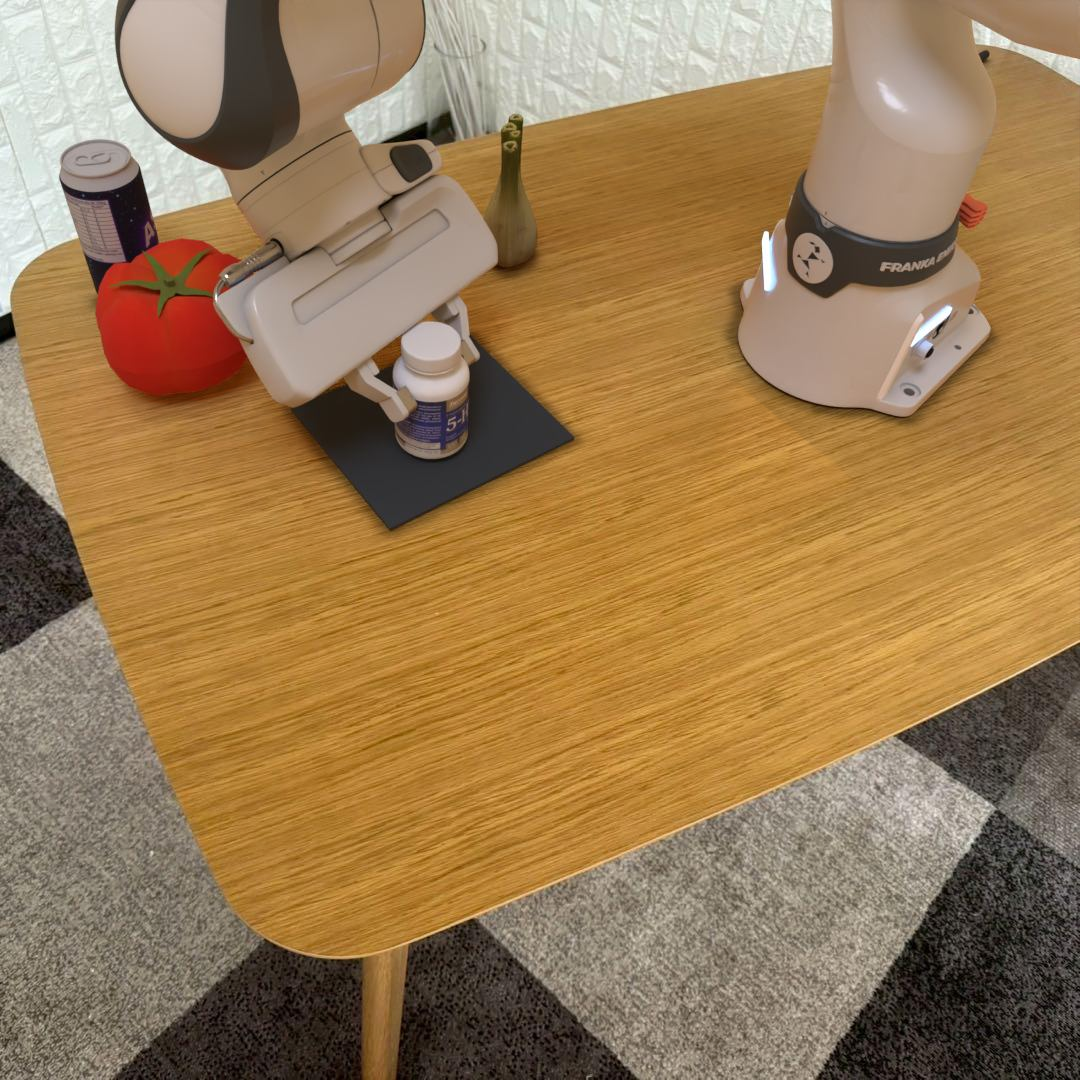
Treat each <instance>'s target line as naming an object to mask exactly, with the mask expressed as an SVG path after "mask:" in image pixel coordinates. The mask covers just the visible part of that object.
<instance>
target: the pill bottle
mask: <svg viewBox="0 0 1080 1080" xmlns="http://www.w3.org/2000/svg"><path fill="white" fill-rule="evenodd" d="M400 354H401V355H400V356H399V357H398V358H397V359H396V361H395V362H394V364H395V365H394V364H393V365H394V368H393V389H395V390H396V389H399V388H401V387H403V386H406V387H407V388H408V390H409V391H410V393H411V397H412V398H413V399H415V400H416V402H417V404H418V408H417V409H416V410H415V411H414V412H413V413H411V414H410V415H409V416H408V417H407V418H405V419H404V420H402V421H399V422H396V423H395V434H396V438H397V441H398V443H399V444H400V446H401V447H402V448H403V449H404V450H405V451H407V452H408V453H410V454H412V455H414V456H416V457H420V458H424V459H439V458H444V457H447V456H450V455H452V454H454V453H456V452H457V451H458V450H459V449H460V448H461V447H462V446H463V445H464V443H465V442H466V439H467V435H468V409H469V382H470V375H469V368H468V365H467V363H466V361H465V360H464V358H463V357H462V356H461V339H460V336H459V334H458V332H457V331H456V330H455V329H453V328H452V327H451V326H449V325H446V324H444V322H436V321H433V320H432V321H430V320H429V321H420V322H418V323H416V324H415V325H414V326H412V327H411V328H410V329H408V330H407V331H405V332H404V333H403V334H401V339H400Z"/></svg>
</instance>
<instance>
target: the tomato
mask: <svg viewBox="0 0 1080 1080" xmlns="http://www.w3.org/2000/svg"><path fill="white" fill-rule="evenodd" d="M142 252H143V251H142ZM242 260H243V259H242ZM242 260H241V259H240V258H237V257H236V256H234V255H232V254H230V253H223V252H221V251H220V250H218V249H217V248H216V247H215V246H213V245H212V244H211V243H208V242H206V241H204V240H199V239H191V238H182V237H180V238H175V239H170V240H166V241H162V242H159V244H158V245H156V246H154V247H152V248H151V249H149V250H147V251H145V252H143V253H142V254H140V255H138V256H136V257H135V258H134V260H133V261H132V262H131V263H114V264H113V265H112V266H111V267H110V268H109V269H108V270H107V271H106V274H105V276H104V278H103V280H102V282H101V284H100V286H99V291H98V294H97V297H96V298H97V299H96V307H95V313H94V314H95V319H96V325H97V328H98V331H99V333H100V340H101V345H102V350H103V354H104V357H105V359H106V360H107V362H108V366H109V367H110V368H111V369H112V371H113V372H114V373H115V374H116V376H117V377H118V378H119V379H120V380H121V381H122V382H123V383H124V384H125V385H126V386H127V387H128V388H130V389H133V390H136V391H139V392H141V393H145V394H147V395H149V396H154V397H155V396H156V397H159V396H167V395H174V394H184V393H195V392H202V391H205V390H207V389H210V388H212V387H215V386H217V385H220V384H221V383H223V382H225V381H227V380H228V379H230V378H231V377H233V376H234V375H236V374H237V373H238V372H240V371H241V369H243V368H242V367H243V366H244V364H245V362H246V361H247V359H248V357H247V355H246V353H245V351H244V349H243V347H242V345H241V343H240V340H239V338H237V337H236V336H234V335H233V334H232V333H231V332H230V330H229V329H228V328H227V326H226V325H225V323H224V322H223V321H222V319H221V318H220V316H219V315H218V314H217V312H216V310H215V307H214V304H213V302H214V301H213V293H214V289H215V286H216V284H217V283H218V281H219V274H220V273H221V272H222V271H223V270H224V269H225V268H227V267H228V266H230V265H232V264H235V263H238V262H240V261H242ZM253 274H255V272H254V273H252V274H251V275H249V276H247V277H246V279H247V278H248V277H250V276H252V275H253ZM233 287H234V286H233ZM231 288H232V287H230V288H226V287H223V288H222V290H221V294H222V293H224V292H226V291H227V290H229V289H231ZM221 294H220V295H221Z"/></svg>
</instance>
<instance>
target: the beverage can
mask: <svg viewBox="0 0 1080 1080" xmlns="http://www.w3.org/2000/svg"><path fill="white" fill-rule="evenodd" d="M59 165H60V169H59V174H58V179H59V183H60V186H61V188H62V189H61V190H62V192H63V194H64V195H63V196H64V198H65V201H66V204H67V207H68V210H69V213H70V216H71V220H72V222H73V225H74V228H75V231H76V234H77V238H78V240H79V243H80V247H81V249H82V253H83V256H84V258H85V262H86V265H87V268H88V271H89V274H90V277H91V281H92V283H93V287H94V289H95V292H96V294H97V295H98V291H99V286H100V284H101V282H102V280H103V278H104V276H105V274H106V271H107V270H108V269H109V268H110V267H111V266H112V265H113V264H114V263H131V262H132V261H133V260H134V258H135V257H136V256H138V255H140V254H142V253H143V252H145V251H147V250H149V249H151V248H152V247H154V246H156V245H158V244H159V243H160V240H159V239H160V238H159V235H158V232H157V227H156V224H155V220H154V216H153V212H152V209H151V208H152V207H151V204H150V201H149V196H148V193H147V188H146V184H145V180H144V177H143V173H142V170H141V166H140V164H139V163H138V161H137V160H136V159H135V158H134V157H133V155H132V153H131V150H130V149H129V148H128V146H127V145H125V144H123V143H122V142H119V141H117V140H113V139H105V138H104V139H103V138H94V139H87V140H83V141H80V142H77V143H75V144H72V145H70V146H68V147H67V148H66V149H64V151H63V152H62V153H61V154H60V156H59ZM142 251H143V252H142Z"/></svg>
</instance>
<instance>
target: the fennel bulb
mask: <svg viewBox="0 0 1080 1080" xmlns="http://www.w3.org/2000/svg"><path fill="white" fill-rule="evenodd" d="M507 119H508V120H507V123H506V124H504V125H503V126H502V128H501V129H500V146H501V147H500V149H501V151H500V153H501V161H500V163H501V164H500V165H501V167H500V174H499V176H498V179H497V182H496V185H495V188H494V189H493V192H492V194H491V196H490V199H489V201H488V205H487V207H486V211H485V213H484V217H483V219H484V221H485V222H486V224H487V226H488V227H489V229H490V231H491V232H492V234H493V236H494V238H495V240H496V243H497V247H498V263H497V264H496V266H498V267H502V268H512V267H515V266H518V265H520V264H522V263H525V262H527V261H528V260H529V259H531V258H532V257H533V255H534V253H535V251H536V248H537V246H538V237H539V236H538V228H537V223H536V219H535V216H534V213H533V209H532V207H531V203H530V200H529V198H528V195H527V192H526V190H525V187H524V183H523V180H522V171H521V169H522V168H521V162H522V148H523V147H522V146H523V131H524V116H522V114H520V113H512V114H511V115H510V116H509V117H508V118H507Z"/></svg>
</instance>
